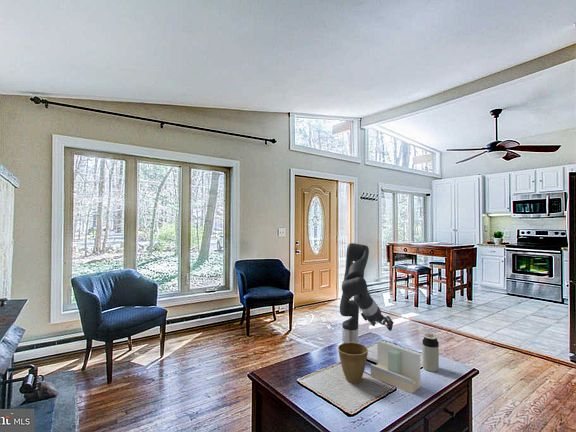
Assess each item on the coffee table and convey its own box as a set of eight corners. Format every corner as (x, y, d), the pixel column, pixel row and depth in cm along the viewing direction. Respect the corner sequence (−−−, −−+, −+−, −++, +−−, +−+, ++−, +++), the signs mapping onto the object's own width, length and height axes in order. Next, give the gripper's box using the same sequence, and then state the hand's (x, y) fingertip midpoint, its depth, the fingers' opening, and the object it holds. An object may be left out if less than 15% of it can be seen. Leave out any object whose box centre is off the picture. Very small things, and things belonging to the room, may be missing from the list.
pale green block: (396, 376, 153) (396, 354, 153) (388, 372, 157) (388, 351, 157) (401, 373, 156) (401, 351, 156) (393, 369, 160) (392, 348, 160)
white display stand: (412, 393, 146) (412, 359, 145) (370, 376, 162) (370, 345, 161) (420, 386, 152) (420, 353, 152) (379, 369, 168) (379, 340, 168)
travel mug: (421, 369, 168) (421, 336, 168) (424, 363, 174) (424, 331, 174) (437, 373, 163) (437, 339, 163) (439, 367, 170) (439, 334, 170)
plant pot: (368, 373, 164) (368, 343, 164) (367, 389, 149) (367, 356, 149) (339, 370, 168) (339, 340, 168) (336, 384, 153) (336, 352, 153)
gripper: (386, 304, 137) (399, 323, 145) (359, 297, 147) (372, 316, 155) (380, 319, 133) (393, 338, 141) (352, 311, 143) (366, 329, 151)
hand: (382, 326), depth 148 cm, fingers open, 8 cm apart
